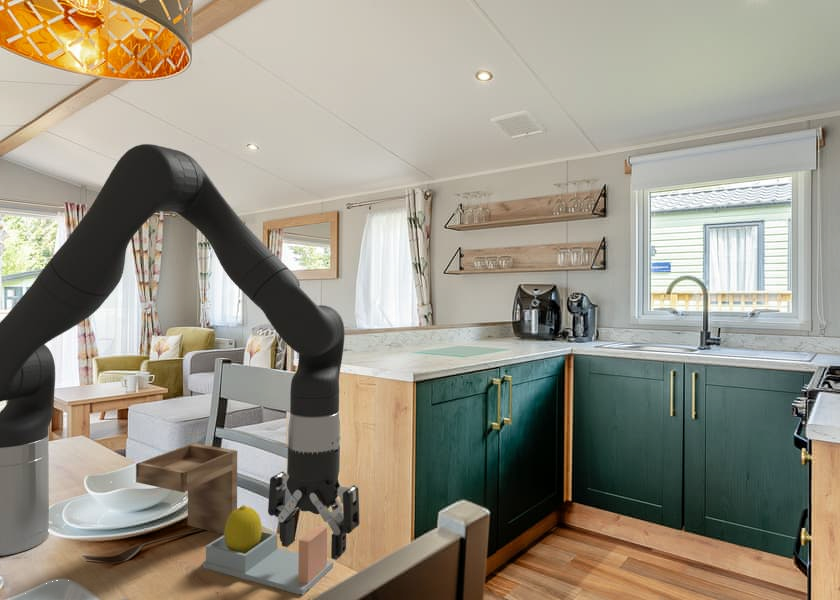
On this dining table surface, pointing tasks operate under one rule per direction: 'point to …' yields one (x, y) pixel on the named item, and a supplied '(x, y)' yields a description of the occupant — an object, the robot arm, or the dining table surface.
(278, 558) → the grey tray holder base
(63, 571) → the dining table surface
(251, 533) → the lemon
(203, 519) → the shelf
